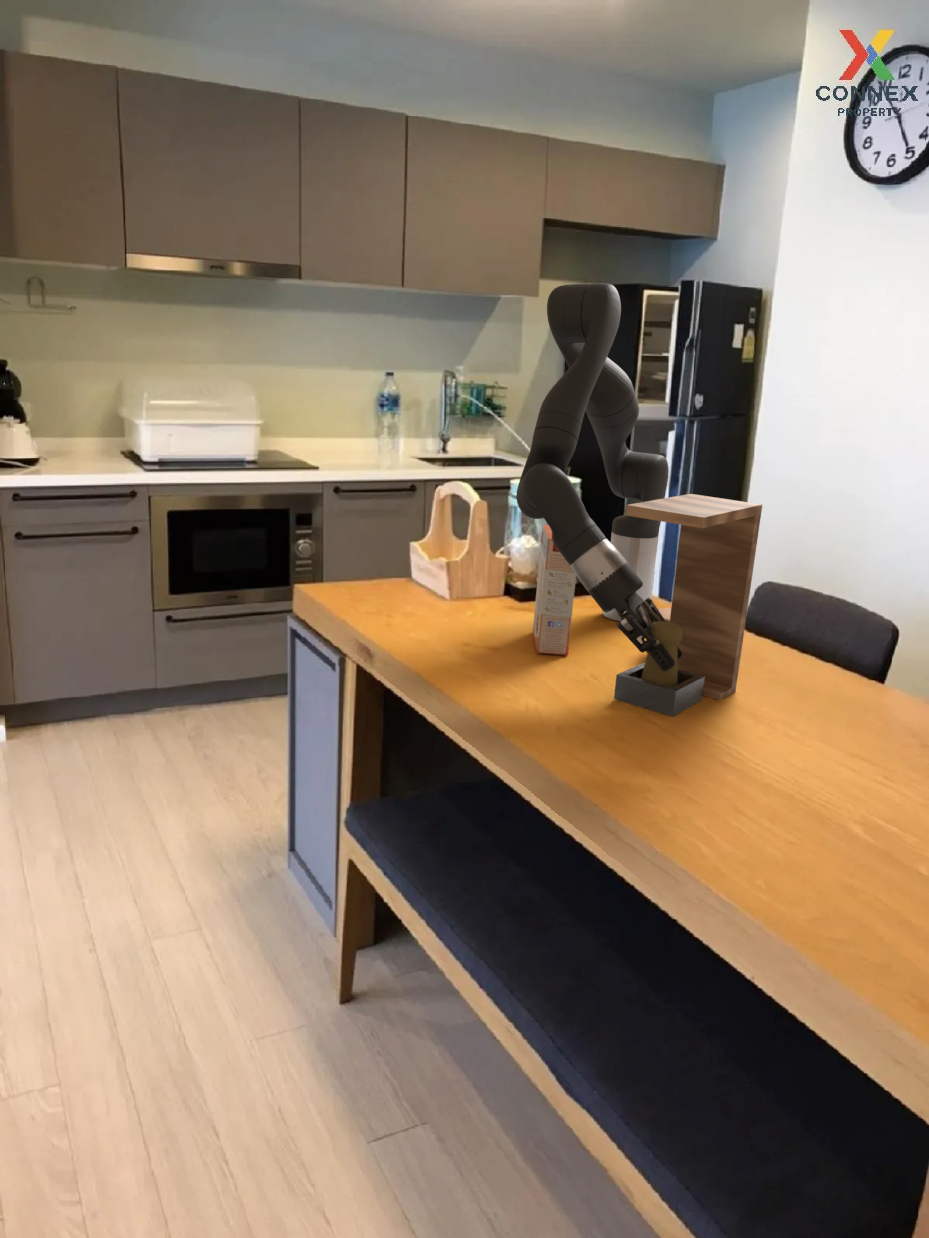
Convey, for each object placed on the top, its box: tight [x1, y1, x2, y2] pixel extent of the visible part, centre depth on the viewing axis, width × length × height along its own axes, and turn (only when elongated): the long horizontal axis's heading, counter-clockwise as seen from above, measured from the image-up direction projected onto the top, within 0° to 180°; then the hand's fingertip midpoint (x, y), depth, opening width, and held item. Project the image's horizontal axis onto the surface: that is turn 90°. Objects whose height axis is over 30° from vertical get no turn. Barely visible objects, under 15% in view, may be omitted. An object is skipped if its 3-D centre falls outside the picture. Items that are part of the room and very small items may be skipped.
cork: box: [641, 621, 683, 687], centre depth 149 cm, size 6×6×11 cm
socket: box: [613, 661, 705, 717], centre depth 151 cm, size 10×10×4 cm
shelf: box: [625, 493, 763, 701], centre depth 149 cm, size 21×12×30 cm, turn 142°
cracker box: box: [532, 524, 577, 656], centre depth 174 cm, size 14×6×21 cm, turn 179°
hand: (673, 662), depth 149 cm, fingers closed on cork, 4 cm apart
